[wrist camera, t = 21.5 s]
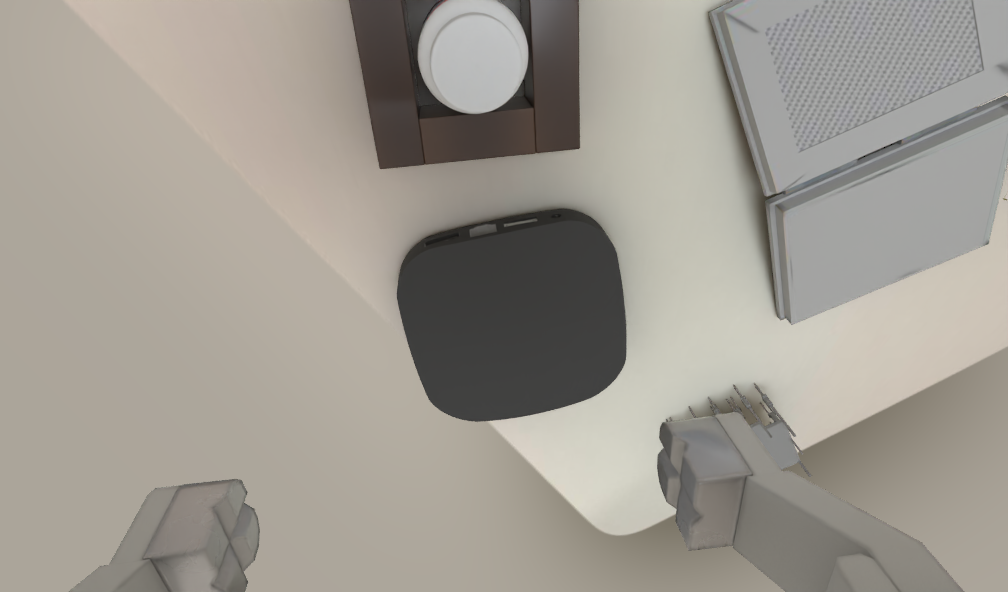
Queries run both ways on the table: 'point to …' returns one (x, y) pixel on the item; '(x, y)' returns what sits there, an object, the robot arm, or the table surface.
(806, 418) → the table surface
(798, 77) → the gadget
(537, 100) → the holder
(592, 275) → the media streaming box
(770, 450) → the building frame
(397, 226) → the table surface
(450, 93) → the pill bottle
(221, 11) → the table surface
